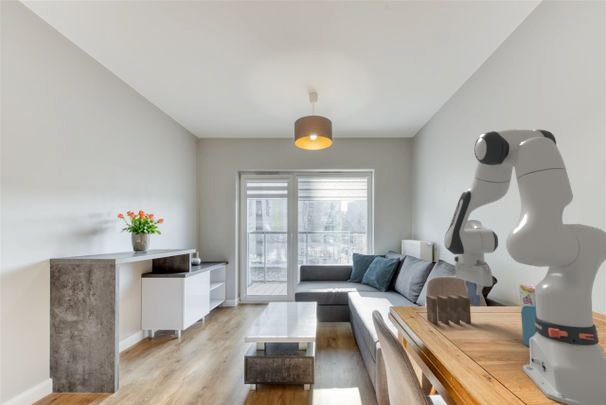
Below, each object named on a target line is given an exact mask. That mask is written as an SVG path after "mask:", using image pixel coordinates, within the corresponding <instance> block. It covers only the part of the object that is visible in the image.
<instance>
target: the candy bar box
mask: <svg viewBox="0 0 606 405" xmlns="http://www.w3.org/2000/svg"><path fill="white" fill-rule="evenodd" d="M536 286H537V285H534V284H519V294H520V296H519V297H520V308H521V309H520V310H521V311H522V308H523V307H524V306H533V307H536V301H535V288H536Z"/></svg>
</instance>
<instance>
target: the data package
mask: <svg viewBox="0 0 606 405" xmlns="http://www.w3.org/2000/svg"><path fill="white" fill-rule="evenodd" d="M520 313H521V314H520V315H521V328H522V331H521V332H522V341H523V344H524V345H525V346H527V347H529V348H530V343H529V339H530V338H531V337H533V336H534V335H535V334H536V332H537V331H536V330H535V316H537V314H536V307H533V306H524V307H523V308H522V310H521V311H520Z"/></svg>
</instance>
